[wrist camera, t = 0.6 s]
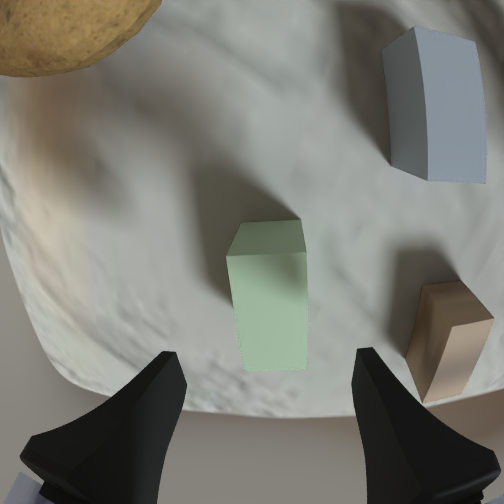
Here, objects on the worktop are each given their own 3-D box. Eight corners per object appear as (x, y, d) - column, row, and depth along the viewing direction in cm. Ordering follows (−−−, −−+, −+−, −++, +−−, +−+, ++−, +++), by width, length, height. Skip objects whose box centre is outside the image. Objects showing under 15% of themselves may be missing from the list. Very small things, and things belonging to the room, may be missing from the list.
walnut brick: (422, 284, 18) (452, 326, 13) (461, 280, 17) (494, 318, 13) (405, 358, 21) (422, 403, 16) (440, 352, 20) (461, 393, 16)
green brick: (241, 222, 18) (225, 256, 13) (300, 218, 17) (306, 252, 13) (253, 319, 20) (243, 370, 16) (303, 317, 20) (306, 369, 15)
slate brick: (380, 50, 13) (413, 26, 8) (431, 58, 12) (475, 41, 8) (390, 165, 15) (427, 180, 11) (439, 167, 15) (485, 183, 10)
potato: (38, 2, 11) (-29, -14, 4) (199, -57, 10) (157, -124, 3) (26, 104, 15) (-54, 114, 8) (193, 61, 14) (125, 18, 7)
